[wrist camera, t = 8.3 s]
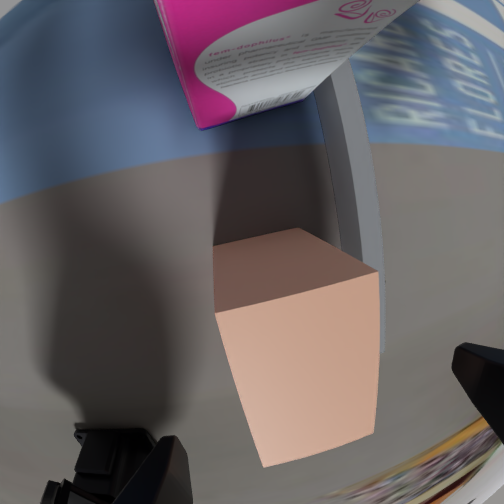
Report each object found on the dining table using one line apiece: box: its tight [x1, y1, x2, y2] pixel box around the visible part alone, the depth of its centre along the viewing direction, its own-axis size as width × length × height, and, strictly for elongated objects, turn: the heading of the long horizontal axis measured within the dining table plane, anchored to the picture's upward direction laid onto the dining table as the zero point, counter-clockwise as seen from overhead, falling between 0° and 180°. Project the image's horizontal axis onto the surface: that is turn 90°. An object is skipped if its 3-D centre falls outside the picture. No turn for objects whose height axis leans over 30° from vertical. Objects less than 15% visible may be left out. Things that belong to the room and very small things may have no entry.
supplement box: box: [154, 0, 420, 131], centre depth 7 cm, size 6×6×12 cm
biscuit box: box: [213, 227, 380, 467], centre depth 12 cm, size 5×7×8 cm, turn 11°
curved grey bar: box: [314, 58, 385, 354], centre depth 14 cm, size 20×1×2 cm, turn 11°
